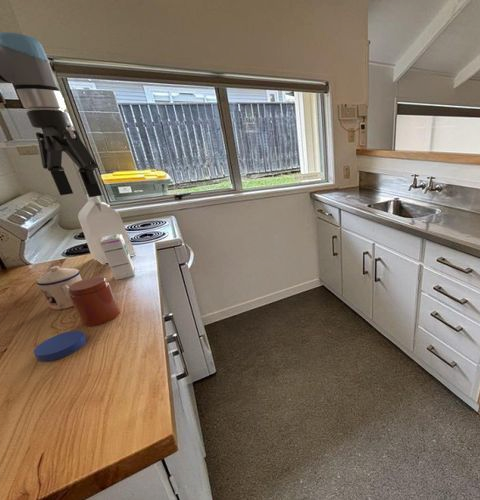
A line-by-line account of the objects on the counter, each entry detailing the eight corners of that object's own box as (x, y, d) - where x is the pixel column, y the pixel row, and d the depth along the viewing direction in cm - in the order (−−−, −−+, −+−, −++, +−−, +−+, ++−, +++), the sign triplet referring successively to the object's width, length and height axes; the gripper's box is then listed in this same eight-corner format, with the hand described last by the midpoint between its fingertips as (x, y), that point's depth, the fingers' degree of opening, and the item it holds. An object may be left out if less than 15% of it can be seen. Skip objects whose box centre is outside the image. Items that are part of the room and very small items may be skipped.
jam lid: (79, 332, 71) (76, 326, 70) (92, 343, 67) (89, 337, 66) (32, 353, 64) (28, 347, 64) (43, 367, 60) (39, 360, 59)
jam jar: (81, 330, 72) (64, 294, 68) (83, 316, 78) (68, 282, 74) (120, 317, 76) (106, 283, 72) (120, 305, 82) (106, 273, 78)
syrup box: (135, 275, 100) (121, 237, 95) (114, 280, 97) (98, 241, 92) (135, 270, 105) (122, 233, 99) (115, 274, 102) (100, 236, 96)
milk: (92, 259, 116) (66, 196, 107) (125, 249, 125) (103, 191, 115) (102, 265, 110) (75, 199, 100) (136, 255, 119) (114, 193, 109)
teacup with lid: (47, 304, 84) (29, 269, 80) (86, 291, 91) (71, 258, 86) (55, 317, 77) (35, 280, 73) (96, 302, 84) (81, 267, 80)
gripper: (94, 107, 69) (123, 194, 77) (39, 114, 78) (71, 191, 86) (55, 105, 63) (92, 200, 71) (1, 113, 72) (39, 196, 80)
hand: (80, 195), depth 79 cm, fingers open, 13 cm apart
